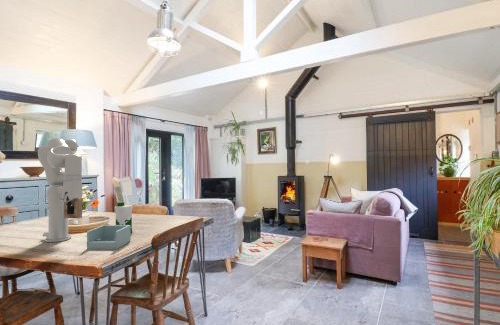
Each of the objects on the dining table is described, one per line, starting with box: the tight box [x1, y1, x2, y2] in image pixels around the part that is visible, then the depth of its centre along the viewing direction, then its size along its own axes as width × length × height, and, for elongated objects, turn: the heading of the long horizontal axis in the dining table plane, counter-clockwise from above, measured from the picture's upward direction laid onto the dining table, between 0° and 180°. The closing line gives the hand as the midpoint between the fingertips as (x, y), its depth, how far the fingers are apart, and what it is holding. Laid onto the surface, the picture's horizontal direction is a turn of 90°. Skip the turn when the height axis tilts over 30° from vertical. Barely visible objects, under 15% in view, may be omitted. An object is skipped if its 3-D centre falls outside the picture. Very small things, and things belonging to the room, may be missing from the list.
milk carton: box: [114, 201, 134, 234], centre depth 170 cm, size 9×9×20 cm
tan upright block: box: [64, 198, 83, 219], centre depth 140 cm, size 8×3×10 cm, turn 89°
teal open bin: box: [86, 224, 132, 250], centre depth 148 cm, size 16×15×9 cm
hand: (72, 213), depth 140 cm, fingers closed on tan upright block, 2 cm apart
